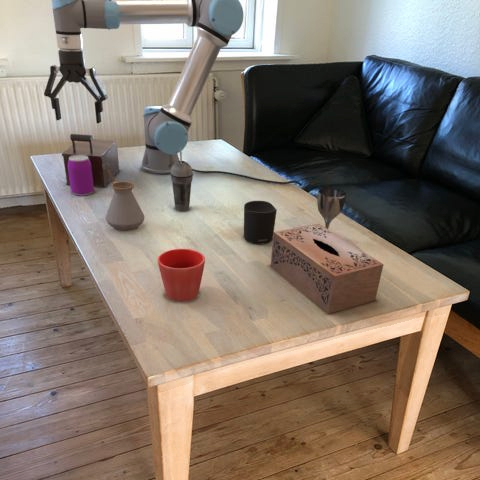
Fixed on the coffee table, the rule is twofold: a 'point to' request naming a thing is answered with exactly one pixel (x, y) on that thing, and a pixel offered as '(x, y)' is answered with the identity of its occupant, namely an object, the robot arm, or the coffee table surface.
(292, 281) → the tissue box cover
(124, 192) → the coffee pot
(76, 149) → the lid
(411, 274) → the coffee table surface
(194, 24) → the robot arm
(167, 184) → the coffee table surface
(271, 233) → the pen holder
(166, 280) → the flower pot
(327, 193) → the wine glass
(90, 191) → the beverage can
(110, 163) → the chest
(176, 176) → the beverage cup
